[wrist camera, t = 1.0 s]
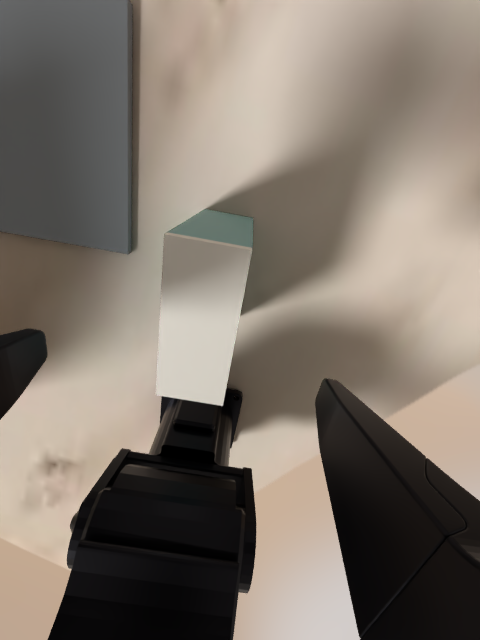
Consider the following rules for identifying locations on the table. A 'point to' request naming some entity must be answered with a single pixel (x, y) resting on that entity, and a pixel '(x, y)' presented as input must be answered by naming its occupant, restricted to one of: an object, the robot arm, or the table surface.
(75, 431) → the table surface
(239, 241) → the slab
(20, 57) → the mat
